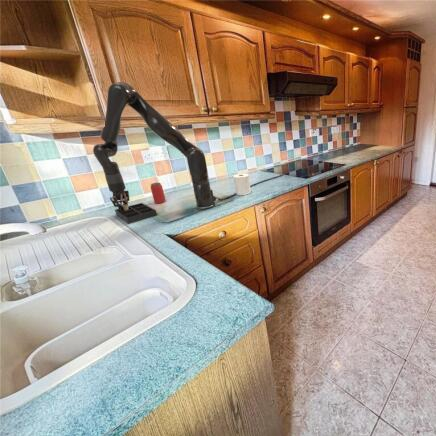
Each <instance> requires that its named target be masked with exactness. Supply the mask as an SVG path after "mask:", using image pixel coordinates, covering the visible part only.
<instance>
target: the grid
mask: <svg viewBox="0 0 436 436" xmlns="http://www.w3.org/2000/svg"><path fill="white" fill-rule="evenodd" d="M128 206H129V210H125V211H122V212H119V209H118V208H115V209H114V212H115V215H116V216H117V217H118V218H119V219H121V220H123V221H124V222H126V223H127V225H129V224H133V223H136V222H139V221H143V220H146V219H149V218H152V217H156V216H158V213H157V210H156V209H155V208H152V207H151V206H149V205H147V204H145V203H143V202H140V203H136V204H132V205H128Z"/></svg>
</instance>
